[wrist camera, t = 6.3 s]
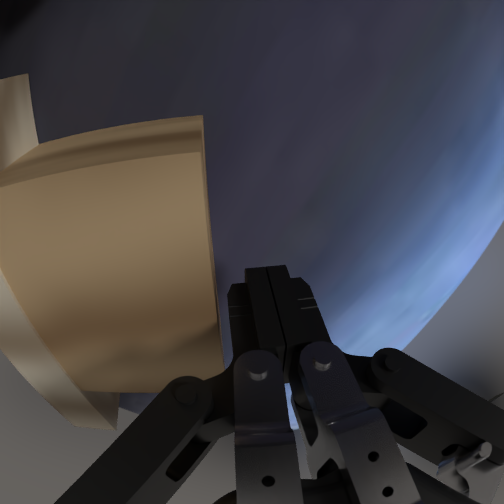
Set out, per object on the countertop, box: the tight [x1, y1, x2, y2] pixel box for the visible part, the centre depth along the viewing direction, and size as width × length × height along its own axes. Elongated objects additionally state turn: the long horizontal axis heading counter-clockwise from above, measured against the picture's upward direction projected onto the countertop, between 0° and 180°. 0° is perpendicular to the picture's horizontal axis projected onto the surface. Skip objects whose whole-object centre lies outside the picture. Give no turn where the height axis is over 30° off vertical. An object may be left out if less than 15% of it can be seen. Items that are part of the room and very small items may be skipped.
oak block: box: [0, 115, 225, 393], centre depth 11 cm, size 10×7×5 cm
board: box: [0, 74, 120, 430], centre depth 11 cm, size 18×3×5 cm, turn 0°
